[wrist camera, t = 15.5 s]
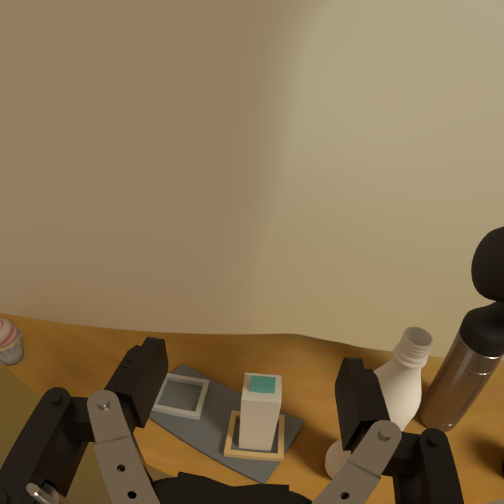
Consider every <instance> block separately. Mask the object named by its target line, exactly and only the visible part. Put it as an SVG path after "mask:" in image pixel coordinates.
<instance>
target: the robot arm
mask: <svg viewBox="0 0 504 504" xmlns="http://www.w3.org/2000/svg"><path fill="white" fill-rule="evenodd" d="M471 273H472V281H473V284H474V286H475V288H476V290H477V291H478V292H479V294H481V295H482V296H484V297H485V298H488V299H490V300H494V301H496V302H494V303H493V304H490V305H488V306H485V307H480V308H476V309H473V310H471V311H469V312H468V313H467V314H466V316H465V317H464V319H463V321H462V324H461V326H460V328H459V331H458V333H457V335H456V337H455V339H454V341H453V344H452V346H451V348H450V350H449V352H448V354H447V356H446V358H445V359H444V361H443V363H442V365H441V367H440V369H439V371H438V372H437V374H436V376H435V378H434V380H433V381H432V383H431V385H430V386H429V388H428V390H427V391H426V393H425V395H424V396H423V398H422V399H421V401H420V405H419V408H418V410H417V412H418V416H419V419H420V421H421V422H422V423H423V424H424V425H425V426H426V427H427V428H429V429H426V430H425V431H423V432H422V434H421V435H419V434H412V433H406V432H403V431H401V430H400V428H399V427H398V425H396V424H395V423H393V422H391V420H390V417H389V413H388V410H387V406H386V403H385V399H384V396H383V394H382V389H381V387H380V383H379V380H378V377H377V375H376V374H375V373H374V372H373V371H372V370H371V369H365V368H364V365H363V361H362V359H361V358H347V357H345V358H344V359H343V361H342V364H341V367H340V370H339V373H338V376H337V379H336V383H335V397H336V404H337V411H338V418H339V425H340V433H341V441H342V449H343V451H351V456H350V458H349V459H348V460H347V461H346V462H345V464H344V465H343V466H342V468H341V469H340V470H339V471H338V473H337V474H336V475H335V476H334V478H333V479H332V480H331V481H330V483H329V484H328V485H327V486H326V487H325V489H324V490H323V491H322V492H321V493H320V494H319V496H318V497H317V498H316V499H315V500H314V501H313V502H312V501H311V500H310V499H308V498H306V497H305V496H302V495H300V494H298V493H295V492H292V491H289V485H278V484H255V485H246V486H236V487H233V486H229V485H226V484H223V483H220V482H218V481H215V480H212V479H210V478H207V477H204V476H199V475H193V474H188V473H184V472H179V473H178V476H177V477H171V478H164V479H160V480H156V481H154V479H153V477H152V475H151V474H150V471H149V469H148V467H147V465H146V463H145V461H144V458H143V456H142V454H141V451H140V449H139V447H138V444H137V442H136V439H135V437H134V434H133V432H134V429H135V427H140V428H144V427H145V425H146V422H147V420H148V418H149V415H150V413H151V411H152V408H153V406H154V404H155V401H156V399H157V397H158V394H159V392H160V390H161V387H162V385H163V383H164V380H165V378H166V376H167V372H168V359H167V353H166V346H165V341H164V340H163V339H159V338H154V337H147V338H146V339H145V341H144V342H143V344H142V346H138V345H136V346H134V347H133V348H131V349H130V350H129V351H128V352H127V353H126V355H125V356H124V358H123V361H121V363H120V364H119V367H118V368H117V369H116V371H115V372H114V374H113V376H112V377H111V379H110V381H109V382H108V384H107V385H106V387H105V389H104V390H99V391H96V392H94V393H93V394H91V395H90V397H89V398H84V397H71V396H70V394H69V392H68V391H67V390H66V389H64V388H60V387H55V388H52V389H49V390H48V391H47V392H46V393H45V394H44V395H43V397H42V399H41V400H40V402H39V403H38V405H37V406H36V408H35V410H34V411H33V413H32V414H31V416H30V418H29V419H28V421H27V423H26V424H25V426H24V428H23V430H22V431H21V433H20V435H19V436H18V438H17V440H16V442H15V444H14V445H13V447H12V449H11V451H10V453H9V454H8V456H7V458H6V460H5V462H4V464H3V466H2V468H1V470H0V504H70V503H69V501H68V500H67V499H66V496H67V493H68V491H69V488H70V485H71V483H72V480H73V478H74V476H75V473H76V471H77V468H78V466H79V464H80V461H81V459H82V456H83V454H84V452H85V449H86V447H87V445H88V443H89V442H96V443H94V449H95V452H96V456H97V459H98V463H99V466H100V469H101V472H102V475H103V478H104V481H105V484H106V487H107V490H108V492H109V495H110V498H111V500H112V503H113V504H365V502H366V501H367V499H368V498H369V496H370V495H371V493H372V492H373V490H374V489H375V487H376V486H377V484H378V482H379V481H380V478H381V477H380V476H381V475H385V476H392V477H393V484H394V493H395V503H396V504H464V501H463V496H462V492H461V487H460V483H459V479H458V474H457V470H456V467H455V463H454V459H453V455H452V452H451V448H450V445H449V442H448V438H447V436H446V435H445V433H444V432H447V431H449V430H451V429H453V428H454V427H455V426H456V424H457V423H458V422H459V421H460V419H461V418H462V417H463V416H464V414H465V413H466V412H467V410H468V409H469V408H470V406H471V405H472V404H473V402H474V401H475V399H476V398H477V397H478V395H479V394H480V392H481V391H482V389H483V388H484V386H485V385H486V383H487V382H488V380H489V379H490V377H491V375H492V374H493V372H494V370H495V369H496V367H497V365H498V364H499V362H500V360H501V358H502V357H503V355H504V227H501V228H498V229H495V230H493V231H491V232H489V233H488V234H487V235H486V236H485V237H484V238H483V239H482V241H481V242H480V243H479V245H478V247H477V249H476V252H475V254H474V257H473V260H472V268H471Z"/></svg>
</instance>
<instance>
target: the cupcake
mask: <svg viewBox="0 0 504 504" xmlns="http://www.w3.org/2000/svg"><path fill="white" fill-rule="evenodd" d="M22 357H23V347H22V333H20V328H17V327H16V325H15V324H14V323H13V322H10V321H9V320H7V319H4V318H0V360H1V362H2V363H4V364H6V365H13V364H16V363H17V362H19V361H20V360H21V358H22Z"/></svg>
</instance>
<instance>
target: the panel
mask: <svg viewBox="0 0 504 504" xmlns="http://www.w3.org/2000/svg"><path fill="white" fill-rule="evenodd" d="M241 398H242V394H241V393H238V392H236V391H234V390H232V389H230V388H228V387H226V386H224V385H222V384H220V383H218V382H216V381H214V380H212V379H210V378H208V377H206V376H205V375H203V374H201V373H199V372H197V371H195V370H193V369H192V368H190V367H188V366H186V365H184V364H182V365H181V366H179V367H178V368H177V369H176V370H174V371H173V372H172V373H167V376H166V378H165V380H164V383H163V385H162V387H161V390H160V392H159V394H158V397H157V399H156V401H155V404H154V406H153V408H152V411H151V413H150V415H149V418H150V419H151V420H153V421H154V422H155V423H157V424H158V425H160V426H161V427H162V428H164V429H165V430H167V431H168V432H170V433H171V434H173V435H174V436H176V437H177V438H179V439H180V440H182V441H183V442H185V443H186V444H188V445H190V446H191V447H193V448H195V449H196V450H198V451H199V452H201V453H203V454H205V455H206V456H208V457H210V458H211V459H213V460H215V461H217V462H219V463H220V464H222V465H224V466H226V467H228V468H230V469H232V470H234V471H235V472H237V473H239V474H241V475H243V476H245V477H248V478H250V479H252V480H254V481H256V482H258V483H260V484H265V483H266V481H267V480H268V479H269V477H270V476H271V474H272V473H273V471H274V470H275V468H276V467H277V465H278V464H279V462H280V461H283V458H284V454H285V453H286V451H287V450H288V448H289V446H290V445H291V443H292V441H293V440H294V438H295V436H296V435H297V433H298V431H299V430H300V428H301V426H302V425H303V423H304V420H301V419H299V418H296V417H294V416H291V415H289V414H286V413H284V412H281V411H280V412H279V416H278V421H277V425H276V430H275V434H274V438H273V443H272V447H271V451H269V450H255V449H244V448H239V434H240V415H241Z"/></svg>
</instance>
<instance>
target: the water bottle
mask: <svg viewBox="0 0 504 504" xmlns="http://www.w3.org/2000/svg"><path fill="white" fill-rule="evenodd" d="M432 344H433V338H432V336H431V335H430V333H429V332H427V331H426V330H424V329H421V328H418V327H409V328H407V329H406V330H405V332H404V333H403V336H402V338H401V341H400V342H399V343H398V344H397V346H396V347H395V348H394V350H393V357H392V358H391V359H390V360H389V361H388V362H387V363H385V364H384V365H382V366H380V367H379V368H377V369H376V370H375V371H373V372H374V373H375V374H376V375H377V377H378V380H379V383H380V387H381V389H382V394H383V396H384V399H385V403H386V406H387V410H388V413H389V417H390V420H391V422H393V423H395V424H396V425H398V427H399V428H400V430H401V431H403V429H404V428H405V427H406V425H407V424H408V422H409V421H410V420H411V419H412V418H413V417H414V416H415V414H416V412H417V410H418V408H419V405H420V401H421V376H420V374H421V368H422V367H424V366H425V364H426V362H427V358H428V352H429V351H430V348H431V346H432ZM350 456H351V451H343V449H342V441H341V439H339V440H338V441H336V442H335V443H334V444H332V445H331V447H330V448H329V449H328V451H327V453H326V458H325V470H326V472H327V474H328V475H329V476H330V477H331V478H332V479H333V478H334V476H335V475H336V474H337V473H338V471H339V470H340V469H341V468H342V466H343V465H344V464H345V462H346V461H347V460H348V459H349V458H350Z"/></svg>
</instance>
